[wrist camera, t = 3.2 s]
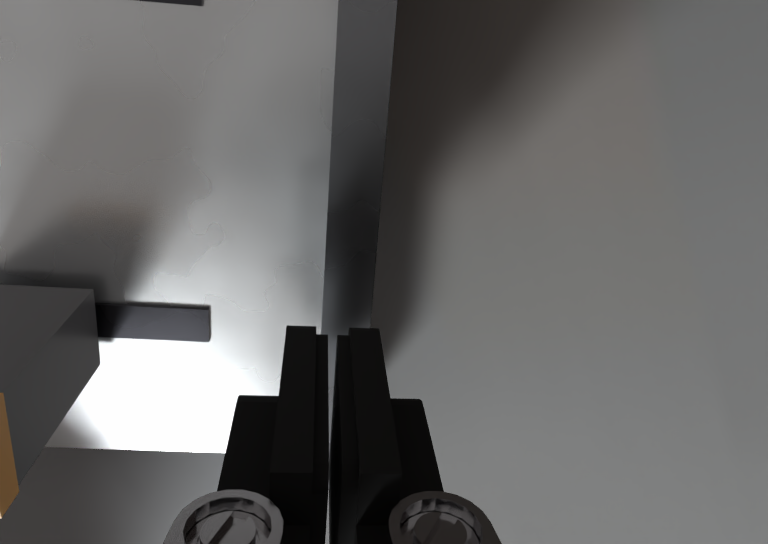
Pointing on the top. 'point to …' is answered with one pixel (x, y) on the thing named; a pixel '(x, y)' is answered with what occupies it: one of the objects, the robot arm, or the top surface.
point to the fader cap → (40, 370)
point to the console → (193, 193)
